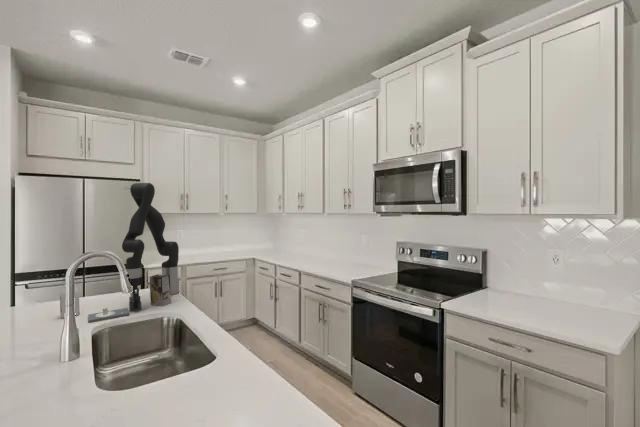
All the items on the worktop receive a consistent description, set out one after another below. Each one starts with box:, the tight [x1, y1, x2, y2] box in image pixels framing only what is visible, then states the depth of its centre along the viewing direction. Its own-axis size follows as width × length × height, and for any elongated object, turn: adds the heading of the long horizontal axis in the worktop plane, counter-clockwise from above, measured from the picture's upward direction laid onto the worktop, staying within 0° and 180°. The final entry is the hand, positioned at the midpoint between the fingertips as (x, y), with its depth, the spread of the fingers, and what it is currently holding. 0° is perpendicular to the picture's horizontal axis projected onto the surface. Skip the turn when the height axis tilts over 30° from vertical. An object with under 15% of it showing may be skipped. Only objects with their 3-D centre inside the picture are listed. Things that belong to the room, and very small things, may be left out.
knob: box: [128, 295, 142, 313], centre depth 172 cm, size 5×5×7 cm
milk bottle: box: [59, 277, 81, 319], centre depth 163 cm, size 8×8×20 cm
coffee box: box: [149, 274, 172, 307], centre depth 182 cm, size 9×6×16 cm
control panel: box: [87, 307, 130, 324], centre depth 162 cm, size 17×11×4 cm, turn 126°
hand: (134, 306), depth 172 cm, fingers open, 7 cm apart
